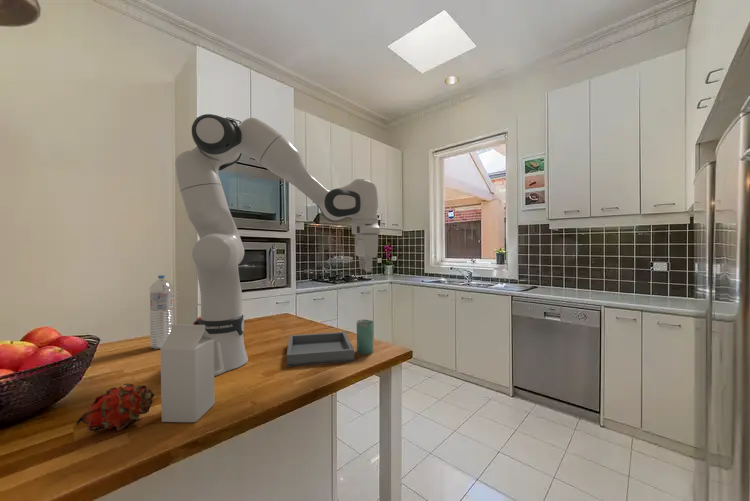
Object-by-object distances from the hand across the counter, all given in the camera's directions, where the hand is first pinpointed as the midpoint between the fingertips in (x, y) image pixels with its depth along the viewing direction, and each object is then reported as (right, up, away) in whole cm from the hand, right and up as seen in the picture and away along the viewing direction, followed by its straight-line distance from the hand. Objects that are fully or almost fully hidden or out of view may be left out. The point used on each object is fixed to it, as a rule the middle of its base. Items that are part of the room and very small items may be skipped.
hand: (365, 270), depth 104 cm
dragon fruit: (-48, -28, -42) cm, 70 cm away
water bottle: (-72, -27, +5) cm, 77 cm away
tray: (-15, -27, -1) cm, 31 cm away
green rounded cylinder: (0, -27, +1) cm, 27 cm away
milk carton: (-36, -28, -38) cm, 59 cm away
